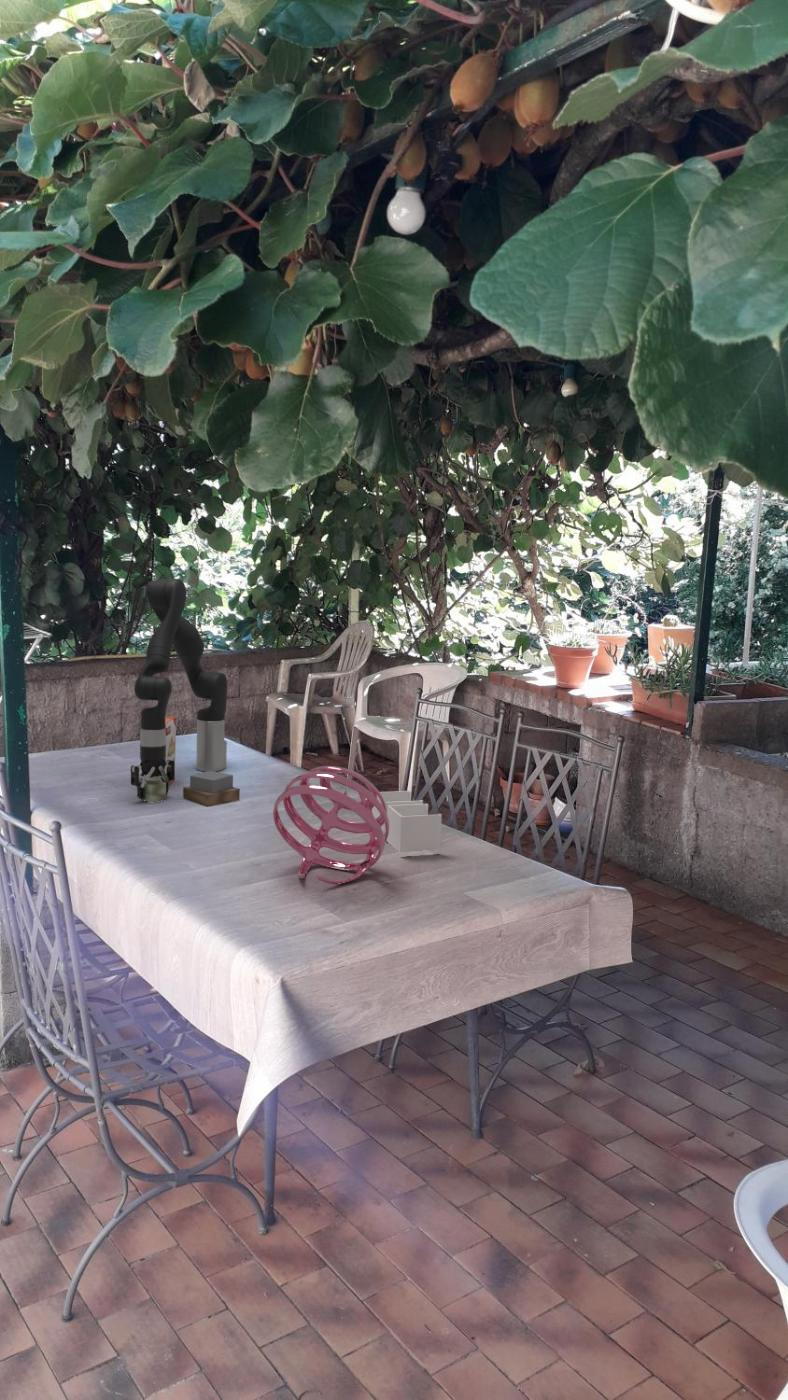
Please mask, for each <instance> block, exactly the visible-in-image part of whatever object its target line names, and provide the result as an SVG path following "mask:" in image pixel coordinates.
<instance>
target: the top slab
mask: <svg viewBox="0 0 788 1400" xmlns="http://www.w3.org/2000/svg"><path fill="white" fill-rule="evenodd" d="M189 786H190V789H193V790H198V791H203V792H208V793H212V794H214V793H217V792H221V791H224V790H227V789H231V788H233V787H234V775H233V774H230V773H229V774H228V773H224V772H220V771H202V772H201V773H196V774H192V775H189Z"/></svg>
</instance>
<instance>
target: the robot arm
mask: <svg viewBox="0 0 788 1400" xmlns="http://www.w3.org/2000/svg"><path fill="white" fill-rule="evenodd" d="M145 593H146V594H145V595H146V599H147V602H148V604H149V606H150V607H151V609H152V611H153V613H154V614H155V615H156V617H157V618H158V620H159V621H160V625H159V626H158V627H157V629H156V630H155V631H154V633H153V634H152V636H151V637H150V638H149V641H148V644H147V648H146V655H145V661H144V663H143V666H142V669H141V670H140V673H139V674H138V676H137V678H136V680H135V683H134V689H133V690H134V694H135V697H137V699H138V700H141V701H157V704H156V705H155V706H151V707H146V708H142V710H141V713H140V733H139V759H140V764H139V765H134V764H132V765H131V766H130V785H132V786H135V787H136V788H137V789H136V796H137V798H138V800H140V799H141V800H140V801H142V800H143V799H145V787H144V785H145V783H146V782H147V781H148V780H149V778H152V777H155V776H156V777H158V776H159V778H160V779H161V781H162V782H165V783H166V796H167V795H168V793H169V786H168V783H169V781H171V780H174V766H175V767H176V761H175V762H174V761H172V760H169V759H168V760H167V761H165V758H166V732H165V717H166V712H167V707H168V705H169V704H168V703H169V700H170V698H171V697H170V696H171V693H172V690H173V686H172V682H171V680H170V679H169V677H166V676H154V675H156V674H157V675H158V674H161V673H164V672H167V671H168V669H169V667H170V664H171V663H170V662H171V656H172V649H173V648H174V650H175V652H176V654H177V656H178V658H179V660H180V663H181V664H182V666H183V669H184V671H185V673H186V674H185V675H186V676H187V680H188V682H189V685H190V687H191V691H192V692H193V694H194V695H195V696H196V698H200V699H204V700H206V699H207V700H210V705H209V706H207V707H204V708H201V709H199V710H197V712H196V764H195V765H196V767H195V768H196V770H198V771H200V772H207V771H214V772H220V771H223V770H225V769H227V748H228V744H227V742H228V741H227V740H225V719H226V718H225V717H226V710H227V702H228V701H227V700H228V678H227V676H226V675H225V674H224V673H223V672H219V671H218V672H217V671H206V670H205V669H204V668H203V667H202V666H201V663H200V662H201V659H202V657H203V656H204V655H203V654H204V652H205V643H204V641H203V639H202V636H201V634H200V632H199V630H198V629H197V627H196V626H195V625H194V624H193V623H192V622H190V621H189V620H187V619H186V618H185V617H183V616H182V615H183V612H184V609H185V606H186V601H187V588H186V585H185V583H184V581H183V580H182V579H180V578H162V579H160V578H159V579H154V580H150V581H149V582H148V583H147V584H146V587H145ZM165 766H166V773H165V771H164V768H165ZM174 781H175V780H174Z"/></svg>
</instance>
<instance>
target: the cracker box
mask: <svg viewBox="0 0 788 1400" xmlns="http://www.w3.org/2000/svg"><path fill="white" fill-rule="evenodd" d="M165 732H166V758H165V761H167V760H168V759H169V760H172V761H174V762H175V763H176V745H177V742H176V741H177V738H176V737H177V717H175V716H165ZM164 771H165V773H166V766H165V768H164ZM175 777H176V765H175V766H174V780H171V781H169V783H168V787H170V785H171V784H172V783H173V782H174V781H175V780H176V778H175ZM154 779H156V780H159V781H161V779H160V778H159V776H158V777H156V776H155V777H152V778H149V780H154ZM149 780H148V781H149Z"/></svg>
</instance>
